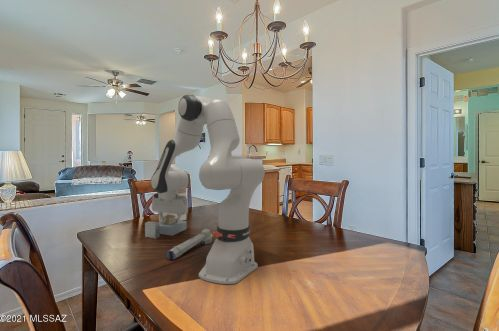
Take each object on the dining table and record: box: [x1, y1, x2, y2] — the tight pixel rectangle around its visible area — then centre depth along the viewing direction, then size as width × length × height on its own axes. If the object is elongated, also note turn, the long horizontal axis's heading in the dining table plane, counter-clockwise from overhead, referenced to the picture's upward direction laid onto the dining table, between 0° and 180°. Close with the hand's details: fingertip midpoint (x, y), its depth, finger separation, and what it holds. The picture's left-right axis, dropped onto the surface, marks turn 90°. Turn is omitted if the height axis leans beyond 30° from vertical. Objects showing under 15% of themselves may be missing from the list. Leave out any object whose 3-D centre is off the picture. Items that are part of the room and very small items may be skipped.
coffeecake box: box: [158, 189, 187, 223], centre depth 157 cm, size 15×7×20 cm, turn 144°
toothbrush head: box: [166, 228, 214, 261], centre depth 114 cm, size 5×7×25 cm
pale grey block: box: [144, 221, 161, 239], centre depth 129 cm, size 3×6×7 cm, turn 70°
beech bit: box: [165, 215, 175, 225], centre depth 139 cm, size 4×4×8 cm
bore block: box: [159, 220, 188, 237], centre depth 139 cm, size 12×12×4 cm
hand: (170, 221), depth 139 cm, fingers open, 8 cm apart
